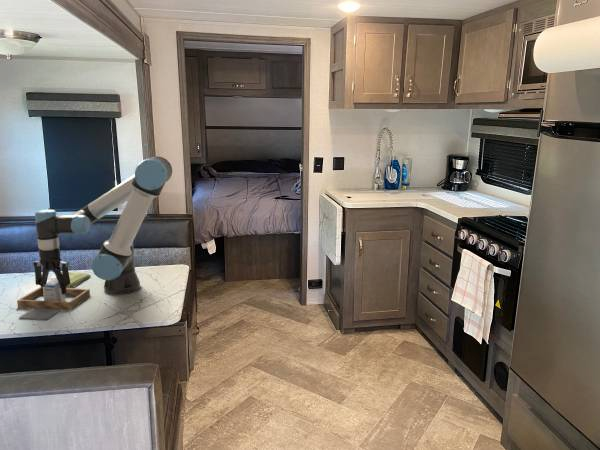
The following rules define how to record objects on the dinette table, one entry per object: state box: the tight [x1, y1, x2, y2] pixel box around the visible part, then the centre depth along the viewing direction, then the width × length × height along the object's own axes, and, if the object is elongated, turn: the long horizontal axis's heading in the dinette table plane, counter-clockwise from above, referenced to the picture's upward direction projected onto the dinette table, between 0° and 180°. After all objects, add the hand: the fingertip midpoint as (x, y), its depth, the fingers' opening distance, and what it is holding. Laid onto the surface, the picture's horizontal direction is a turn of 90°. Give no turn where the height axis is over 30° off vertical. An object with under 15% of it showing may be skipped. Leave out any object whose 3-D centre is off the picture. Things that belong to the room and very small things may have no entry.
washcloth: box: [54, 271, 92, 289], centre depth 208 cm, size 13×18×3 cm
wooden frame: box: [16, 286, 91, 311], centre depth 186 cm, size 22×15×3 cm
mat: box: [18, 308, 62, 321], centre depth 174 cm, size 11×9×1 cm
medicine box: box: [44, 278, 60, 301], centre depth 185 cm, size 8×4×9 cm, turn 5°
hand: (55, 300), depth 186 cm, fingers open, 6 cm apart
